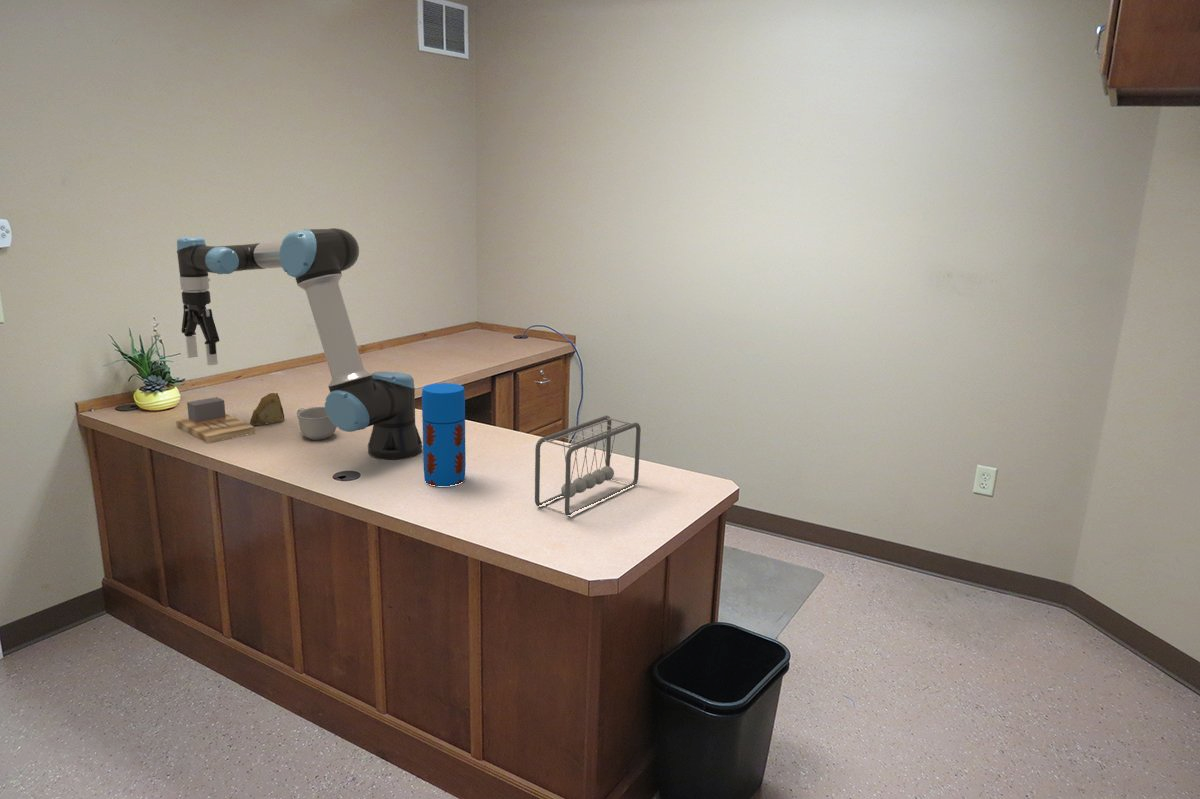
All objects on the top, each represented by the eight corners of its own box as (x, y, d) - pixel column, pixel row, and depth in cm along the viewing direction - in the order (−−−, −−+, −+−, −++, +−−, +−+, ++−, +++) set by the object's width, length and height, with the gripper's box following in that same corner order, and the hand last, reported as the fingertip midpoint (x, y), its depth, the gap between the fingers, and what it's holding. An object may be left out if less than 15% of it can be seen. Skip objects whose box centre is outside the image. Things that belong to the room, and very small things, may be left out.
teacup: (344, 437, 246) (342, 411, 244) (310, 445, 239) (308, 418, 237) (320, 427, 256) (319, 402, 253) (287, 434, 248) (285, 408, 246)
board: (255, 433, 247) (254, 426, 247) (208, 443, 237) (207, 436, 237) (222, 417, 261) (221, 411, 261) (176, 426, 251) (175, 420, 251)
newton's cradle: (567, 520, 193) (568, 449, 188) (533, 508, 199) (534, 439, 194) (638, 485, 216) (641, 421, 212) (606, 476, 222) (609, 413, 217)
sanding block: (225, 418, 253) (224, 400, 252) (196, 424, 247) (194, 405, 245) (218, 415, 257) (216, 397, 255) (189, 421, 250) (187, 402, 249)
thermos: (446, 490, 208) (444, 395, 201) (415, 481, 213) (412, 388, 207) (474, 478, 217) (473, 387, 210) (443, 470, 222) (442, 380, 216)
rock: (246, 422, 250) (280, 416, 252) (243, 396, 253) (277, 391, 255) (254, 433, 260) (287, 428, 262) (251, 409, 263) (284, 403, 265)
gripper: (227, 294, 236) (233, 366, 242) (190, 285, 252) (197, 352, 258) (201, 296, 231) (208, 369, 236) (164, 286, 247) (172, 355, 252)
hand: (202, 361), depth 247 cm, fingers open, 13 cm apart
